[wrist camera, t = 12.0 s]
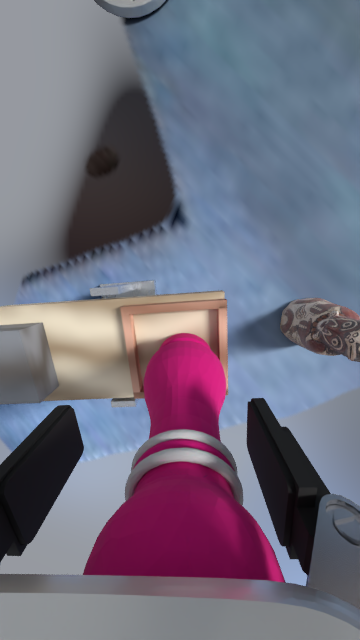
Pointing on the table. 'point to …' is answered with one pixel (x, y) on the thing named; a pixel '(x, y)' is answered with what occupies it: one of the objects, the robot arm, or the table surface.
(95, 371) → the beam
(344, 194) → the table surface
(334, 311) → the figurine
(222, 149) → the table surface
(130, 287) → the fulcrum
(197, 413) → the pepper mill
